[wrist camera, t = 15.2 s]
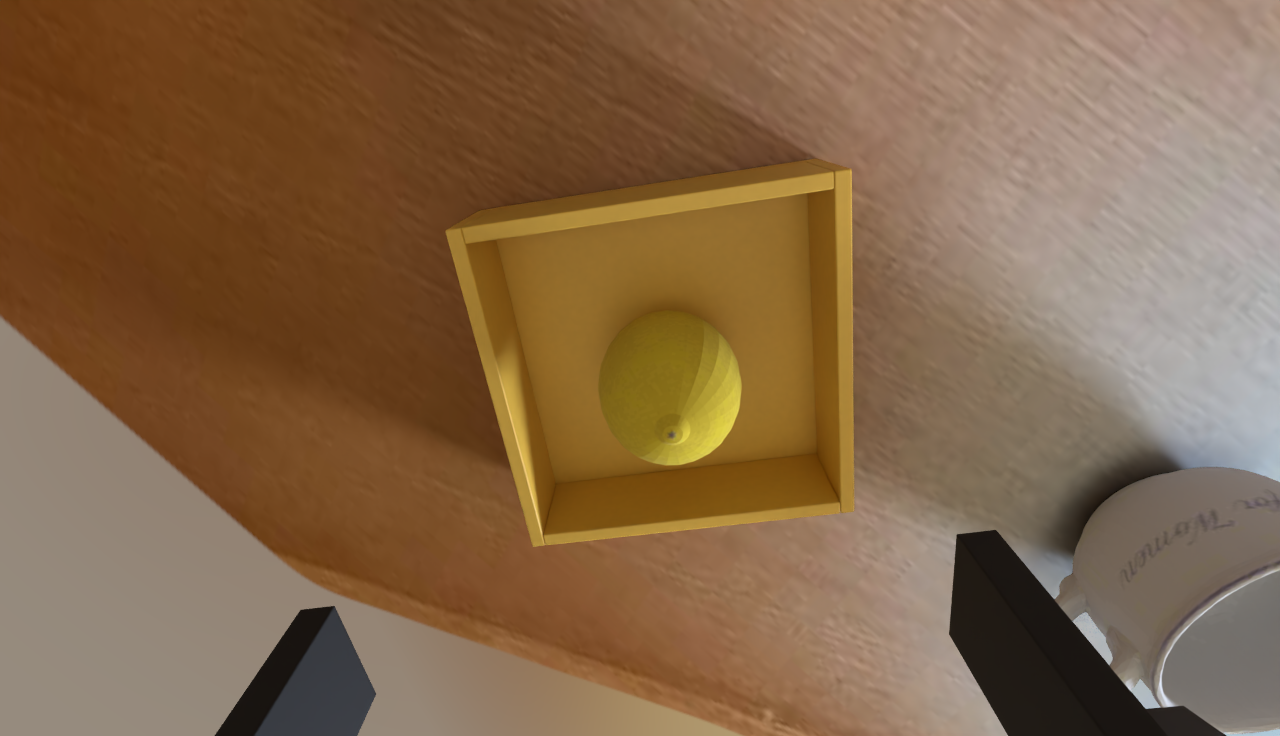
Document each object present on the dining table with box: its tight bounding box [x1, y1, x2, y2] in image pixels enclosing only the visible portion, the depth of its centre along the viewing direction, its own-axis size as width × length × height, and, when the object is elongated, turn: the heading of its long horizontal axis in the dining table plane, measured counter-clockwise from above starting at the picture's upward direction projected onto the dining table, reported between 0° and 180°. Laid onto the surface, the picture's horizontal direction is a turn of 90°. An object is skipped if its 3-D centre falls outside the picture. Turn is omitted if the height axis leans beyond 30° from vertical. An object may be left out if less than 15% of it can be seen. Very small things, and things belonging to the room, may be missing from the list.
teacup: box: [1055, 467, 1280, 734], centre depth 28 cm, size 14×11×8 cm
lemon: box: [598, 310, 742, 465], centre depth 23 cm, size 6×6×8 cm
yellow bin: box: [445, 159, 854, 546], centre depth 25 cm, size 14×14×5 cm
